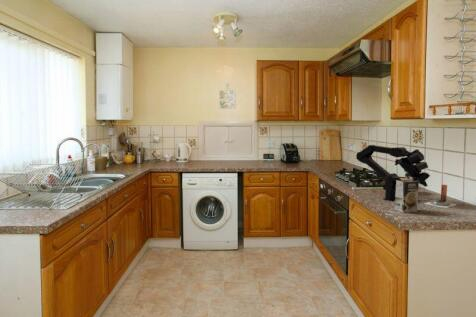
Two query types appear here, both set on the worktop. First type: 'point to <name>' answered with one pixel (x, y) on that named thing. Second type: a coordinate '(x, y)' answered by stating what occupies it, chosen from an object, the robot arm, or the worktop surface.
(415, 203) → the coffee box
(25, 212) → the worktop surface
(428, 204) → the wheel base
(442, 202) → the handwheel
